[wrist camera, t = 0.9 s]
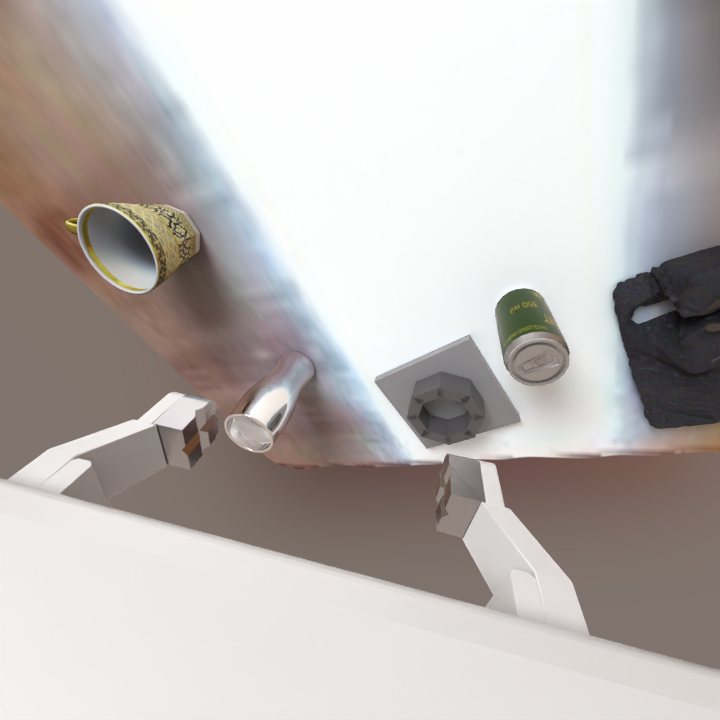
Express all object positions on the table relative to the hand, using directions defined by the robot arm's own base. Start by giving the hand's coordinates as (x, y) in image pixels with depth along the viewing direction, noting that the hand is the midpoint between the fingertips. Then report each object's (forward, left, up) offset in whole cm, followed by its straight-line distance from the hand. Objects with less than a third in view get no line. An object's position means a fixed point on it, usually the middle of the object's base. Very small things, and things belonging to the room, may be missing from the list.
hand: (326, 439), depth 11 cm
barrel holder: (+9, +22, -32) cm, 40 cm away
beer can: (-5, +14, -32) cm, 35 cm away
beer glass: (+27, +7, -32) cm, 43 cm away
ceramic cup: (+28, -19, -32) cm, 47 cm away
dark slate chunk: (-19, +27, -33) cm, 47 cm away
